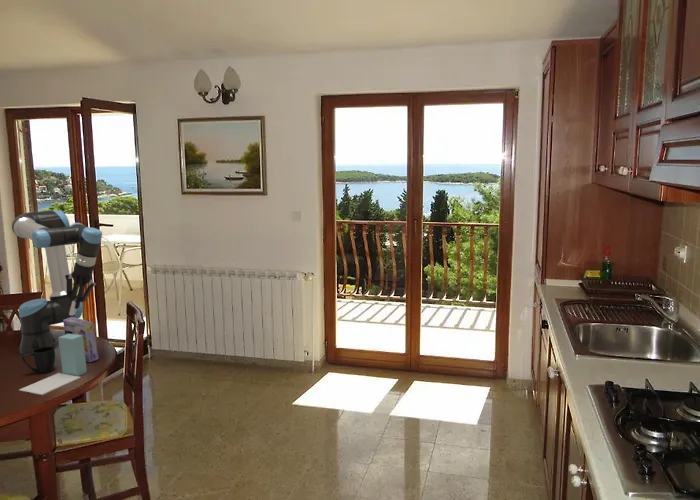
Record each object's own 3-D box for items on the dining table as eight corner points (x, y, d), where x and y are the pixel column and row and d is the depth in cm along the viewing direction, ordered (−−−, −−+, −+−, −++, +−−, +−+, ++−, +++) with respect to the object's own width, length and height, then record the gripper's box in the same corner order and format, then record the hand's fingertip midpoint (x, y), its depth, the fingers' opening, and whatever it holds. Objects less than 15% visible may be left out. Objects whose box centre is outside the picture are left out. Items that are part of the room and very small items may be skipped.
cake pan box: (66, 355, 251) (61, 318, 248) (76, 352, 255) (72, 315, 252) (88, 363, 240) (84, 324, 237) (99, 360, 244) (95, 321, 241)
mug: (23, 372, 232) (20, 350, 230) (55, 365, 238) (52, 344, 237) (25, 378, 225) (22, 356, 224) (58, 371, 232) (55, 350, 230)
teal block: (62, 374, 229) (58, 337, 226) (72, 369, 233) (68, 333, 231) (76, 376, 226) (72, 339, 223) (86, 372, 230) (82, 335, 228)
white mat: (19, 390, 213) (18, 389, 213) (58, 373, 229) (58, 373, 229) (42, 395, 208) (41, 394, 208) (80, 377, 224) (80, 376, 224)
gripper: (65, 260, 230) (52, 312, 234) (95, 270, 230) (81, 321, 234) (75, 257, 237) (62, 307, 241) (103, 266, 237) (90, 316, 241)
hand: (72, 314), depth 238 cm, fingers closed
